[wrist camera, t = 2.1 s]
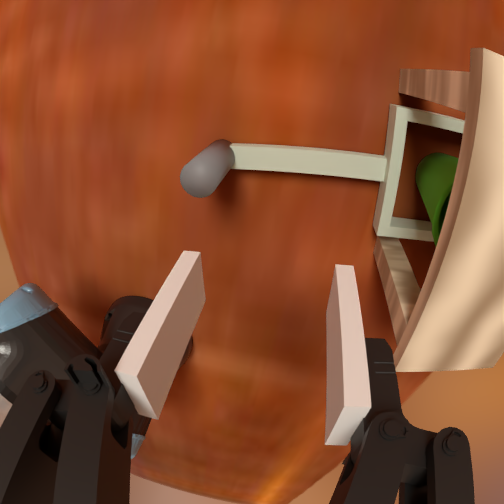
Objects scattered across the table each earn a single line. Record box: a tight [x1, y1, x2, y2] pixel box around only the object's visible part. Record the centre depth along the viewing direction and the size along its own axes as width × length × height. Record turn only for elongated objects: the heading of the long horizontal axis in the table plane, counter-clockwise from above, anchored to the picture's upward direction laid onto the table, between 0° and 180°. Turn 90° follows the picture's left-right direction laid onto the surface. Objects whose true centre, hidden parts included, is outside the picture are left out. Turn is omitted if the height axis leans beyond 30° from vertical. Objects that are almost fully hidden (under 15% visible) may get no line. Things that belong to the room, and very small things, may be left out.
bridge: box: [373, 48, 504, 372], centre depth 22 cm, size 11×24×16 cm, turn 0°
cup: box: [416, 153, 459, 246], centre depth 24 cm, size 9×9×11 cm
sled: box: [180, 104, 465, 242], centre depth 26 cm, size 31×13×8 cm, turn 90°
